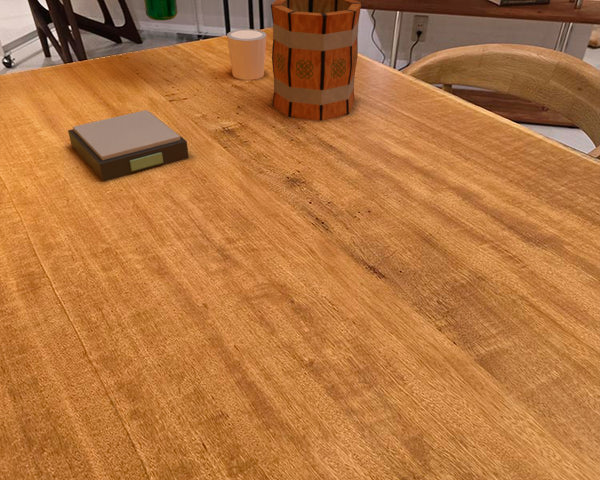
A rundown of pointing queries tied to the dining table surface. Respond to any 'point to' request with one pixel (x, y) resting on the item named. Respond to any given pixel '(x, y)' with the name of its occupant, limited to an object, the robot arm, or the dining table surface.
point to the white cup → (247, 53)
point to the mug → (314, 57)
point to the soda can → (161, 9)
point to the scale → (127, 144)
